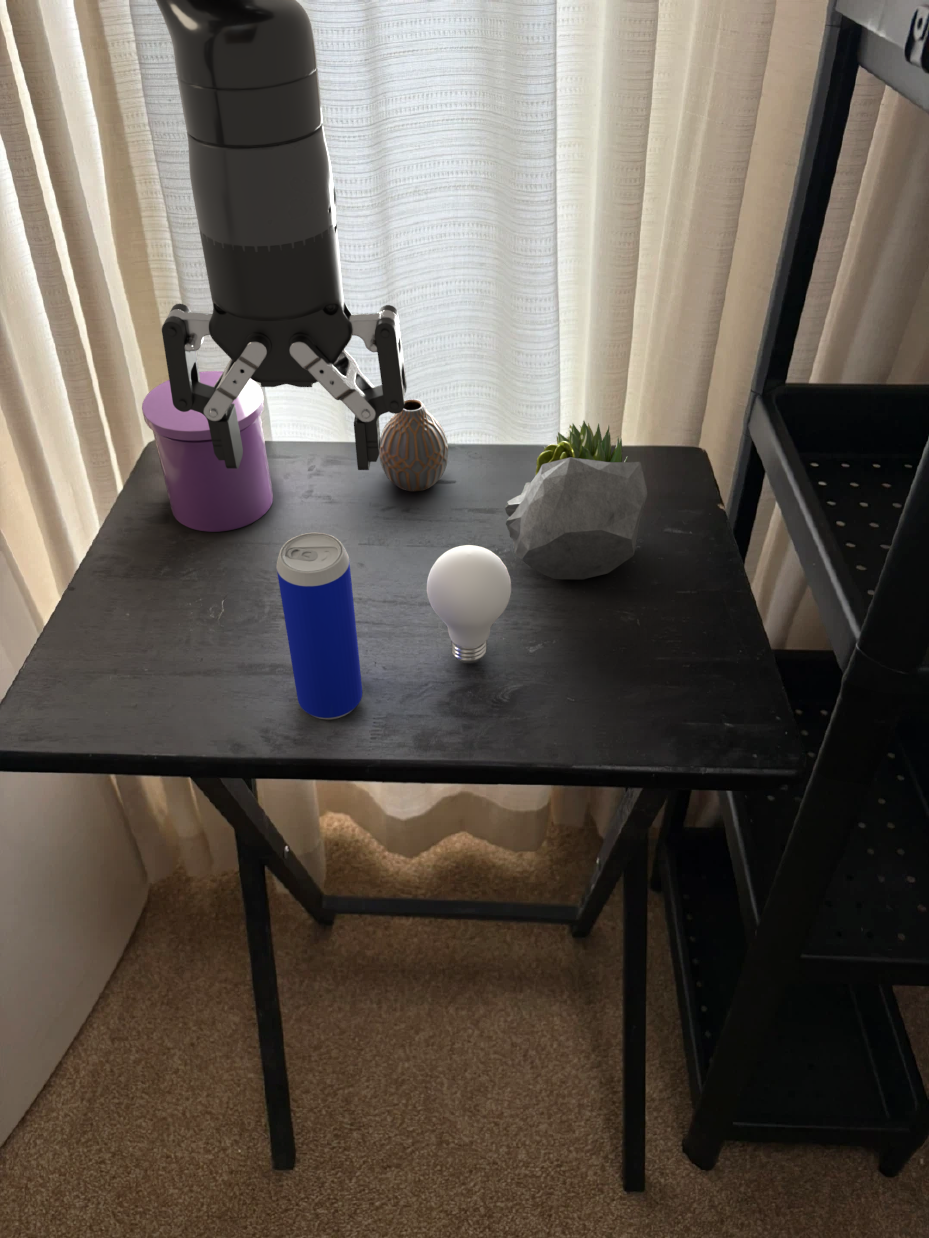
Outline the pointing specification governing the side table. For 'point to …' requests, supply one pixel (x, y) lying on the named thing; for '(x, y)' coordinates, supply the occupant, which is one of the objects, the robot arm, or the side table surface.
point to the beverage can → (320, 624)
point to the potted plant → (578, 507)
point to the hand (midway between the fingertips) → (300, 463)
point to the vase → (413, 448)
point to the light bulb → (468, 597)
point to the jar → (210, 461)
